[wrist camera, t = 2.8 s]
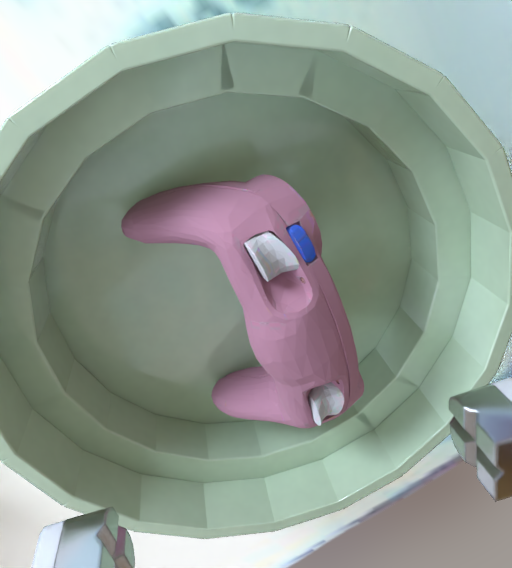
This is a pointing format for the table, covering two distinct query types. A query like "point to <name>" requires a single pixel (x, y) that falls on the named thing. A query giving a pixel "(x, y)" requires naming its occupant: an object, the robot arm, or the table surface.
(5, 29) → the table surface
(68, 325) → the bowl
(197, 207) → the video game controller
